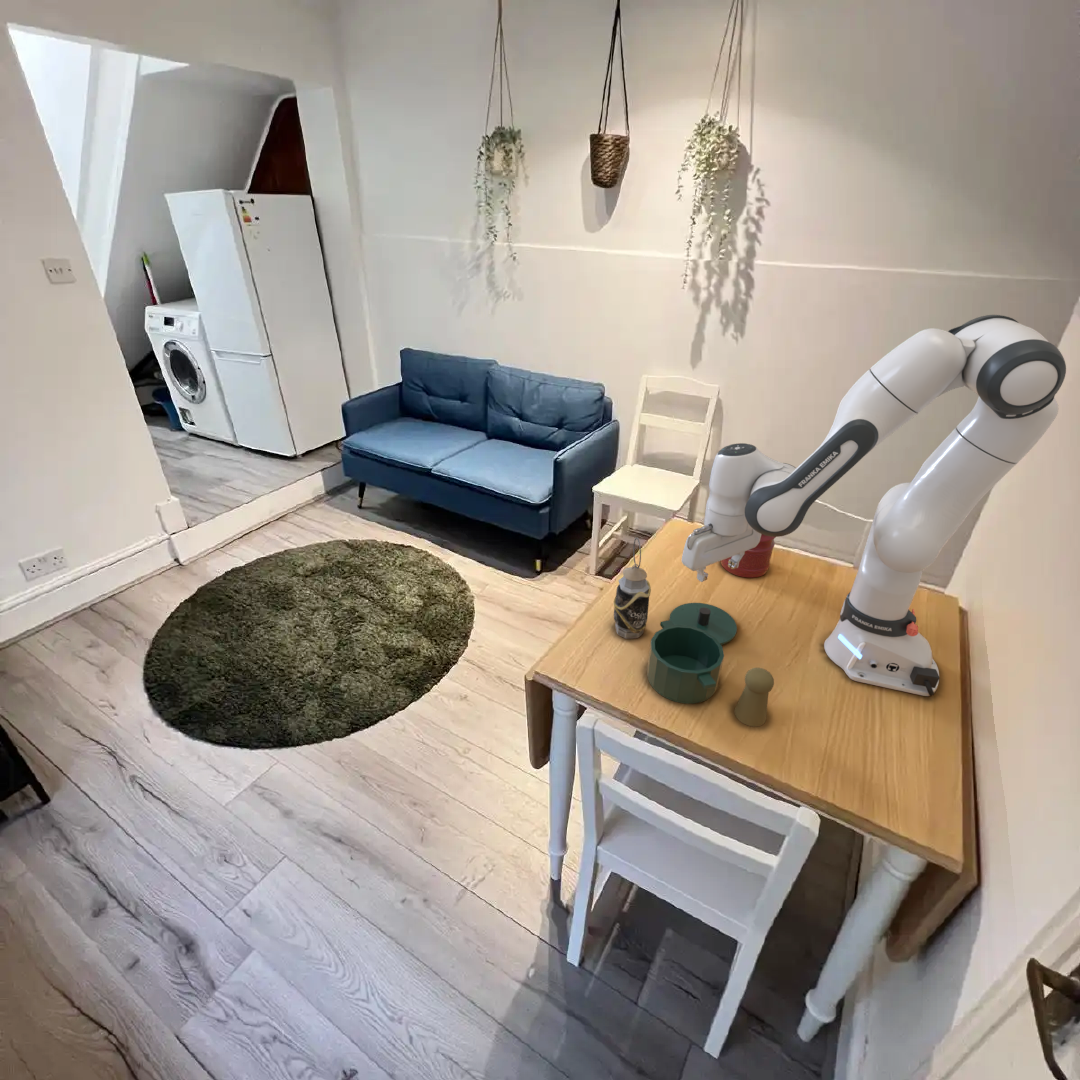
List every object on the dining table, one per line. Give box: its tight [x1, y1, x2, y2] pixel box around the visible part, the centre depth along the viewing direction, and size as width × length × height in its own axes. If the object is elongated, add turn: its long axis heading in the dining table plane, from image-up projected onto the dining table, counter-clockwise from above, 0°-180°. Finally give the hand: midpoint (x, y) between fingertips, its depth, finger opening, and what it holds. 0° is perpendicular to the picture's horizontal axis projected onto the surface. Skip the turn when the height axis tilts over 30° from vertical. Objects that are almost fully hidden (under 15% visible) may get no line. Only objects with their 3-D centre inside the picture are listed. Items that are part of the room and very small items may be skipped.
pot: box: [646, 619, 725, 705], centre depth 121 cm, size 15×20×8 cm
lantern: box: [613, 537, 652, 640], centre depth 130 cm, size 9×8×25 cm
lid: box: [668, 602, 738, 646], centre depth 136 cm, size 16×16×5 cm
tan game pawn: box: [734, 667, 775, 728], centre depth 111 cm, size 6×6×11 cm
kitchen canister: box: [720, 534, 777, 579], centre depth 156 cm, size 13×13×18 cm
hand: (717, 573), depth 128 cm, fingers open, 8 cm apart
